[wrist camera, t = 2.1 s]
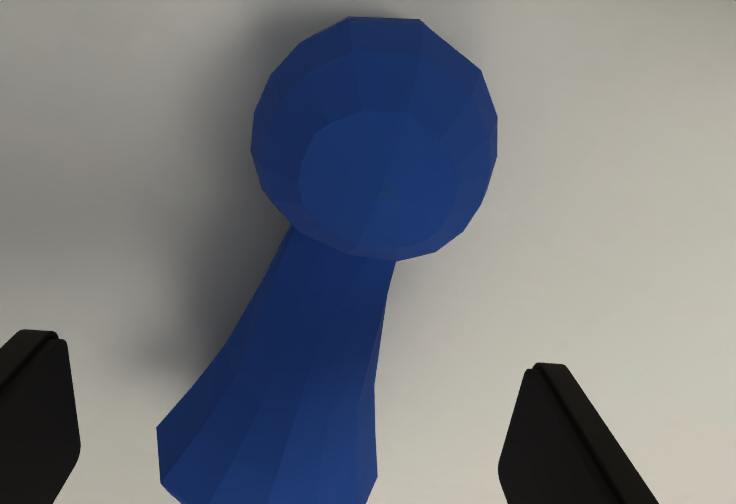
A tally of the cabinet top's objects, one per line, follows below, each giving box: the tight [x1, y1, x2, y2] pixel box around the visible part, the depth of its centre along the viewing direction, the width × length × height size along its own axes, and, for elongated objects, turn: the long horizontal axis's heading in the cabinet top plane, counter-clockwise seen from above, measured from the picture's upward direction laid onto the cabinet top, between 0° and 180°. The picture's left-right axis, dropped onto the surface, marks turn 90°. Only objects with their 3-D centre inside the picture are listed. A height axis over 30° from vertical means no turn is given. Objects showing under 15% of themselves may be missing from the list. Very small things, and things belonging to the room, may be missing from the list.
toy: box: [156, 17, 497, 504], centre depth 14 cm, size 7×6×15 cm
